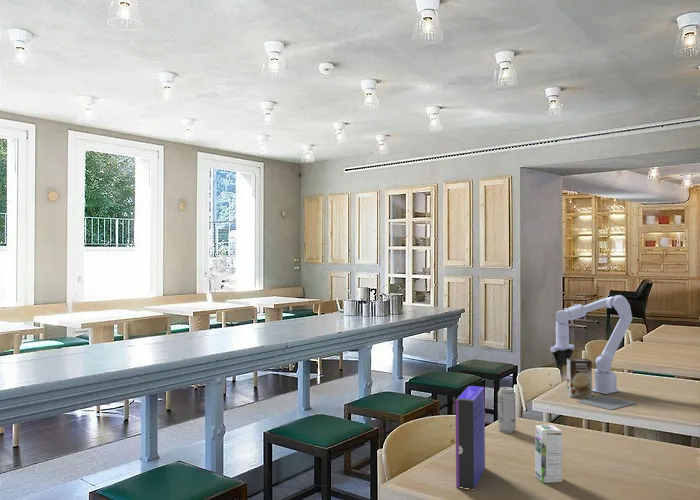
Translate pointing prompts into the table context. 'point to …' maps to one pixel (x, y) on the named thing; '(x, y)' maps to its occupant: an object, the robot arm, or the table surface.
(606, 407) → the mat
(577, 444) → the table surface
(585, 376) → the coffee box
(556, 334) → the robot arm
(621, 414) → the table surface
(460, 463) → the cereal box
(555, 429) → the syrup box
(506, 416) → the energy drink can
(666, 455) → the table surface
